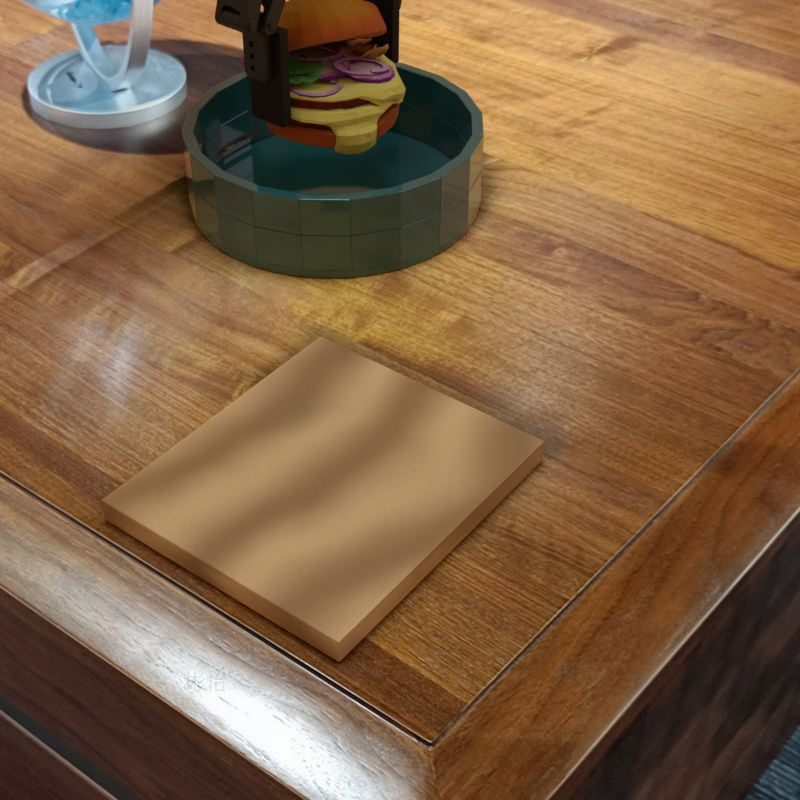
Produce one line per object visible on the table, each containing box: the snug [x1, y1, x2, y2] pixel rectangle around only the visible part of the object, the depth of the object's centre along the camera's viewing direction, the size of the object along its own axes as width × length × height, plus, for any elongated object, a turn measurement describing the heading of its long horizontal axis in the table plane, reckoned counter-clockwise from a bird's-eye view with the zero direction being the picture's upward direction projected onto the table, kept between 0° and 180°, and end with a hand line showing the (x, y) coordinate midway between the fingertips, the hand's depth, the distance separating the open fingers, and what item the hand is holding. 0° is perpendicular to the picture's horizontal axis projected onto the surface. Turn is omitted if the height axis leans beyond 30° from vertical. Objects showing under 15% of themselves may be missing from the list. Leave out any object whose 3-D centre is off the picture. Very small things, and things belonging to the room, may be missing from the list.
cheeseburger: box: [266, 0, 406, 154], centre depth 91 cm, size 10×11×10 cm
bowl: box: [181, 61, 485, 279], centre depth 95 cm, size 21×21×6 cm
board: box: [101, 335, 545, 663], centre depth 73 cm, size 16×18×2 cm
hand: (328, 88), depth 92 cm, fingers closed on cheeseburger, 11 cm apart
